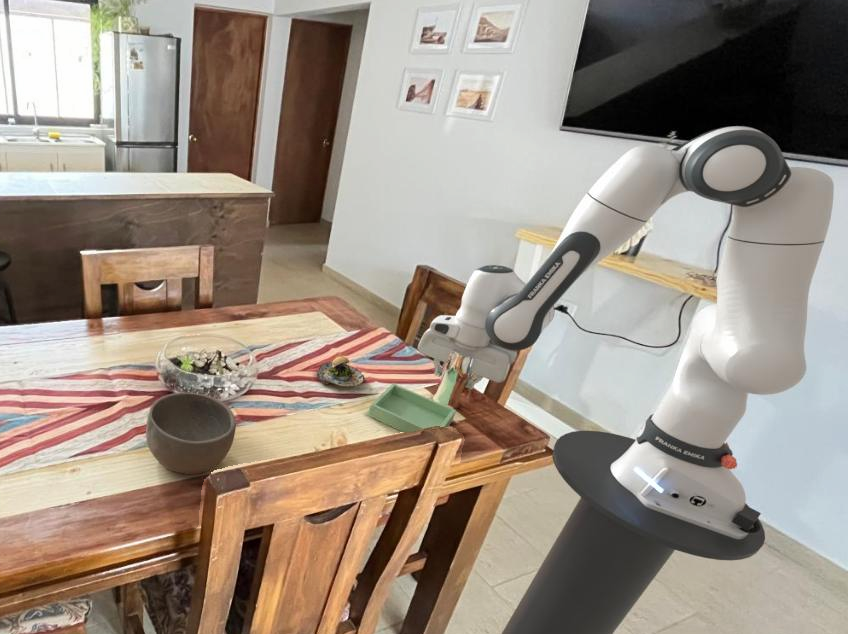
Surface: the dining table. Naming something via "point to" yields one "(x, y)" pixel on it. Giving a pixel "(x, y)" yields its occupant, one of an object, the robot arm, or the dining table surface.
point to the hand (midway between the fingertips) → (453, 381)
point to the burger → (340, 373)
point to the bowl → (190, 432)
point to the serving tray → (409, 410)
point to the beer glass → (453, 379)
